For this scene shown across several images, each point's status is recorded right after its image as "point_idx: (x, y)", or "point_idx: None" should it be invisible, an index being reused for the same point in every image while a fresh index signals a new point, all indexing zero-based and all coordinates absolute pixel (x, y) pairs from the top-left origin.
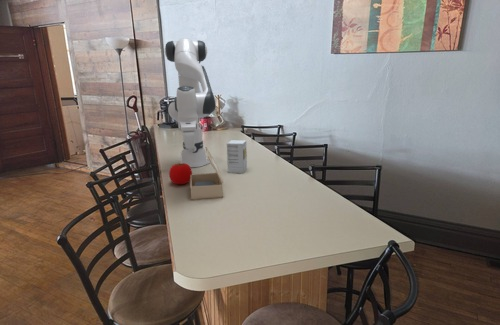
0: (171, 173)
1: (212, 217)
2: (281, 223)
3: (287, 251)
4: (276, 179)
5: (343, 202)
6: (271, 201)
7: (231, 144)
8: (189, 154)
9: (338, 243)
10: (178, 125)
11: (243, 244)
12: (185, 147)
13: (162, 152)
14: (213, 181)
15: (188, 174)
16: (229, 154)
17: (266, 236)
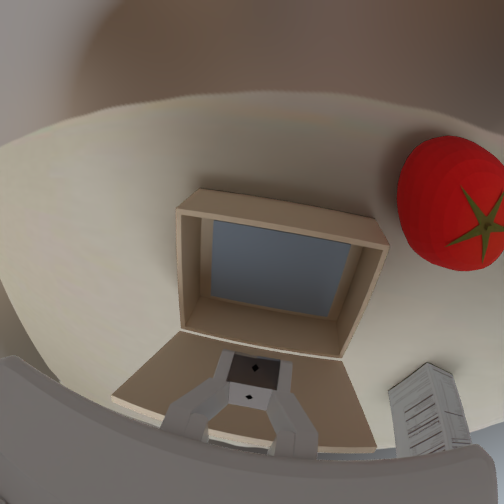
0: (446, 147)
1: (73, 230)
2: (67, 330)
3: (14, 294)
4: None
5: (144, 419)
6: None
7: None
8: (222, 354)
9: (41, 346)
10: None
11: (12, 254)
12: (2, 359)
13: None
14: (315, 314)
15: (406, 237)
16: (434, 421)
17: (32, 292)
